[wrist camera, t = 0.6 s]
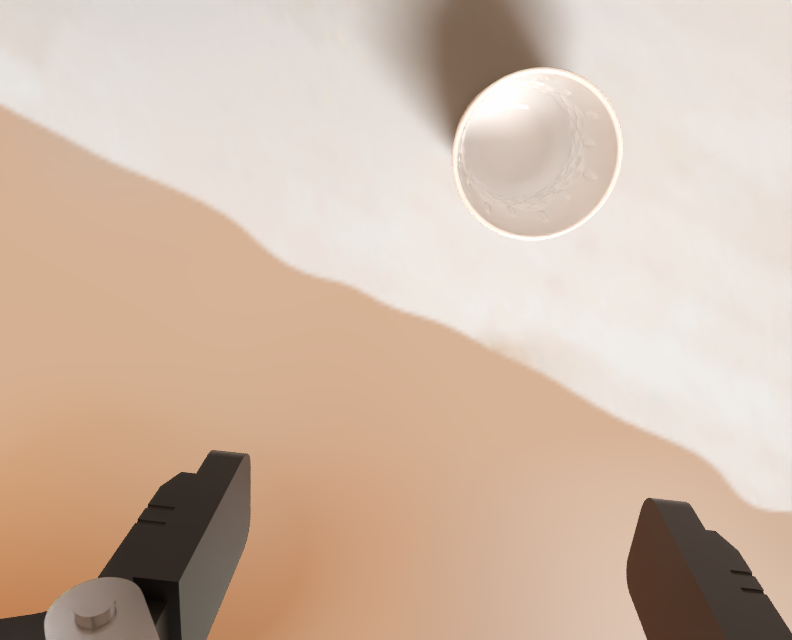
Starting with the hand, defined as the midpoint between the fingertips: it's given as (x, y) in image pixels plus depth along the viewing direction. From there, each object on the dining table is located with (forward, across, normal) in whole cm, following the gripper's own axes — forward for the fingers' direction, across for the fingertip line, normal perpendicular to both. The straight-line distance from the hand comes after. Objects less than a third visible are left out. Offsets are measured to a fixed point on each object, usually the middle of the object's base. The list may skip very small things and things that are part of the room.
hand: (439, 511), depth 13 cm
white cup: (+30, -4, -5) cm, 31 cm away
